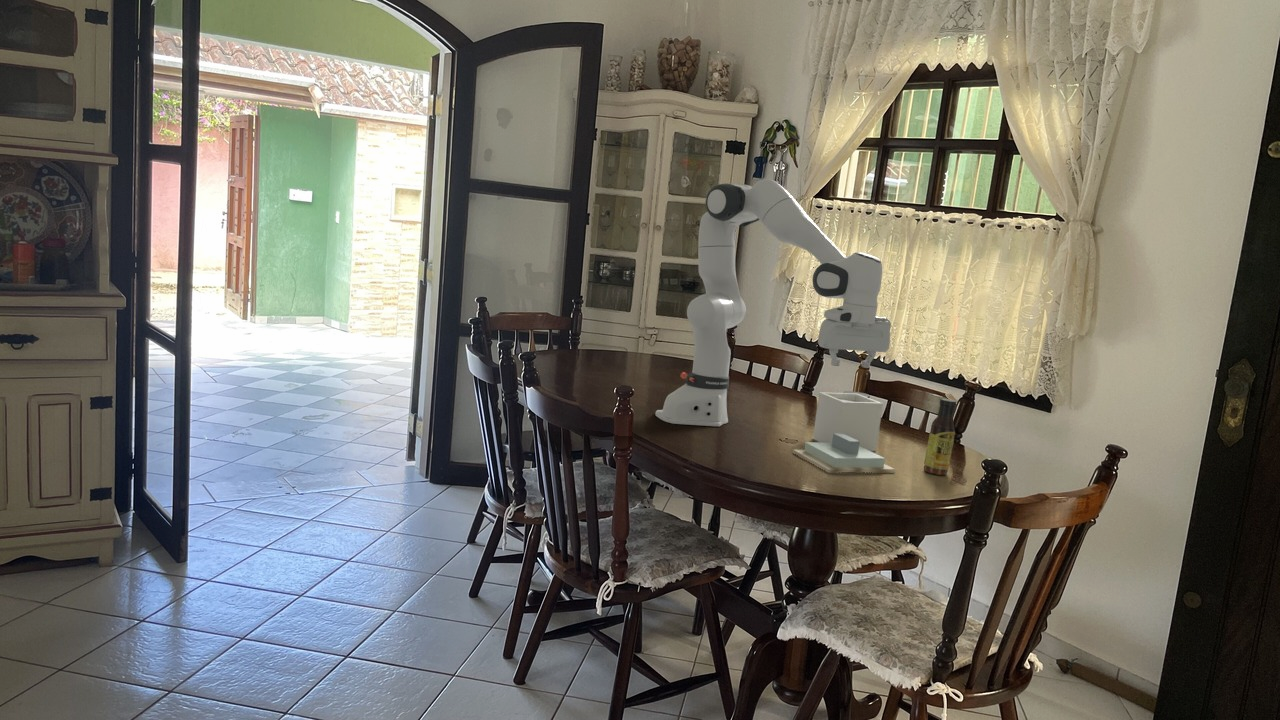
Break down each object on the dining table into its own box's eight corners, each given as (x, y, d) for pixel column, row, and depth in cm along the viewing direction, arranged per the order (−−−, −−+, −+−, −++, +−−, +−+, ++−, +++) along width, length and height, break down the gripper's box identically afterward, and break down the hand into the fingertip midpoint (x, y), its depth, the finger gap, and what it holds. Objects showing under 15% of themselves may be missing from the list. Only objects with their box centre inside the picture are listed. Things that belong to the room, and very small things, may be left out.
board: (828, 473, 214) (828, 469, 214) (793, 453, 231) (793, 449, 231) (894, 472, 221) (895, 469, 221) (855, 453, 238) (856, 450, 238)
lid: (834, 467, 216) (837, 444, 215) (804, 451, 230) (807, 429, 229) (883, 467, 221) (887, 445, 220) (851, 451, 235) (854, 430, 234)
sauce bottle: (934, 476, 221) (946, 402, 218) (917, 469, 227) (929, 397, 224) (953, 476, 224) (965, 402, 221) (936, 468, 230) (948, 397, 226)
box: (836, 450, 238) (843, 402, 236) (812, 438, 250) (819, 392, 248) (875, 451, 243) (883, 403, 241) (850, 439, 255) (857, 393, 253)
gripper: (884, 316, 230) (876, 366, 232) (819, 310, 223) (811, 362, 225) (898, 319, 224) (890, 370, 226) (831, 314, 217) (823, 367, 220)
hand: (850, 366), depth 226 cm, fingers open, 8 cm apart
